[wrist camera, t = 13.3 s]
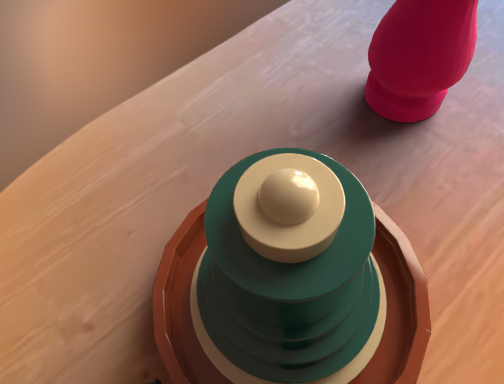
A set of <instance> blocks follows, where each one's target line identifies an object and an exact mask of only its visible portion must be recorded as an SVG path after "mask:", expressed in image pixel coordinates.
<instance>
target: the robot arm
mask: <svg viewBox="0 0 504 384" xmlns="http://www.w3.org/2000/svg"><path fill="white" fill-rule="evenodd" d="M140 384H162V383H161V381H160V380H159V379H158V378H154V379H151V380H148V381H145V382H142V383H140Z"/></svg>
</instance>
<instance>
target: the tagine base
mask: <svg viewBox="0 0 504 384" xmlns="http://www.w3.org/2000/svg"><path fill="white" fill-rule="evenodd" d="M208 199H209V198H208ZM208 199H206V200H205V201H204V202H202V203H201V204H200V205H198V206H197V207H196V208H194V209H193V210H192V211H190V213H189V214H188V215H187V217H186V218H185V220H184V221H183V222H182V224H181V225H180V227H179V228H178V229H177V231H176V232H175V234H174V235H173V236H172V238H171V239H170V241H169V242H168V243H167V245H166V246H165V249H164V252H163V255H162V259H161V262H160V265H159V268H158V272H157V275H156V278H155V281H154V285H153V288H152V289H153V290H152V298H153V324H154V340H155V342H156V345H157V347H158V350H159V352H160V355H161V357H162V360H163V362H164V364H165V367H166V369H167V372H168V374H169V377H170V379H171V382H172V384H234V383H233V382H231V381H230V380H229V379H228V378H227V377H225V376H224V375H223V374H222V373H221V372H220V371H219V370H218V369H217V368H216V367H215V366H214V364H213V363H212V362H211V361H210V359H209V358H208V356H207V355H206V353H205V352H204V350H203V348H202V346H201V344H200V342H199V340H198V338H197V335H196V332H195V329H194V326H193V321H192V316H191V307H190V293H191V284H192V279H193V274H194V271H195V268H196V265H197V263H198V261H199V258H200V256H201V254H202V252H203V251H204V249H205V248H206V246H207V242H206V238H205V233H204V214H205V209H206V205H207V202H208ZM371 202H372V205H373V209H374V213H375V221H376V232H375V239H374V244H373V247H372V250H371V253H372V255H373V257H374V259H375V261H376V263H377V264H378V267H379V269H380V272H381V275H382V278H383V282H384V286H385V292H386V302H387V306H386V320H385V326H384V331H383V334H382V337H381V340H380V343H379V345H378V347H377V349H376V351H375V353H374V355H373V357H372V358H371V359H370V361H369V362H368V364H367V365H366V367H365V368H364V369H363V370H362V371H361V372H360V373H359V374H358V375H357V376H356V377H355V378H354V379H353V380H351V381H350V382H349V383H347V384H416V382H417V379H418V376H419V372H420V369H421V365H422V362H423V359H424V355H425V352H426V349H427V345H428V342H429V338H430V335H431V321H430V310H429V298H428V287H427V281H426V280H427V279H426V277H425V275H424V273H423V270H422V268H421V266H420V264H419V262H418V260H417V257H416V255H415V253H414V251H413V249H412V247H411V244H410V242H409V240H408V238H407V237H406V235H405V234H404V233H403V232H402V231H401V230H400V229H399V228H398V226H397V225H396V224H395V223H394V222H393V221H392V220H391V219H390V218H389V217H388V216H387V215H386V213H385V212H384V211H383V210H382V209H381V208H380V207H379V206H378V205H377V204H375V203H374V202H373V201H371Z"/></svg>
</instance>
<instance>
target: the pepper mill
mask: <svg viewBox="0 0 504 384" xmlns="http://www.w3.org/2000/svg"><path fill="white" fill-rule="evenodd" d="M477 4H478V0H396V2H395V3H394V4H393V6H392V7H391V8H390V9H389V11H388V12H387V13H386V15H385V16H384V17H383V18H382V20H381V22H380V23H379V25H378V27H377V29H376V30H375V32H374V35H373V38H372V41H371V43H370V46H369V50H368V62H369V65H370V68H371V71H370V72H369V75H368V79H367V83H366V87H365V98H366V101H367V103H368V105H369V106H370V107H371V108H372V109H373V110H374V111H375V112H376V113H377V114H379V115H381V116H382V117H384V118H386V119H389V120H392V121H396V122H405V123H410V122H417V121H421V120H425V119H427V118H428V117H430V116H432V115H433V114H434V113H435V112H436V111H437V110H438V109H439V107H440V105H441V103H442V101H443V99H444V97H445V95H446V93H447V90H448V88H449V87H451V86H453V85H454V84H455V83H457V82H458V81H459V80H460V79H461V78H462V77H463V75H464V74H465V73H466V71H467V69H468V66H469V64H470V62H471V60H472V57H473V54H474V50H475V45H476V39H477V18H476V15H477Z"/></svg>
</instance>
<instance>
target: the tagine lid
mask: <svg viewBox="0 0 504 384" xmlns="http://www.w3.org/2000/svg"><path fill="white" fill-rule="evenodd" d="M375 232H376V221H375V213H374V209H373V205H372V202H371V200H370V197H369V195H368V193H367V191H366V190H365V188H364V186H363V185H362V183H361V182H360V181H359V179H358V178H357V177H356V176H355V175H354V174H353V173H352V172H351V171H350V170H349V169H347V168H346V167H345V166H344V165H342V164H341V163H339V162H338V161H336V160H334V159H332V158H330V157H328V156H326V155H324V154H321V153H318V152H315V151H311V150H307V149H300V148H276V149H270V150H266V151H262V152H259V153H256V154H253V155H251V156H249V157H247V158H245V159H243V160H241V161H240V162H238V163H237V164H235V165H234V166H232V167H231V168H230V169H229V170H228V171H227V172H226V173H225V174H224V175H223V176H222V177H221V178H220V179H219V181H218V182H217V184H216V185H215V187H214V188H213V190H212V192H211V194H210V196H209V199H208V202H207V205H206V209H205V214H204V233H205V238H206V242H207V246H206V248H205V249H204V251H203V252H202V254H201V256H200V258H199V261H198V263H197V265H196V268H195V271H194V274H193V279H192V284H191V293H190V307H191V316H192V321H193V326H194V329H195V332H196V335H197V338H198V340H199V342H200V344H201V346H202V348H203V350H204V352H205V353H206V355H207V356H208V358H209V359H210V361H211V362H212V363H213V364H214V366H215V367H216V368H217V369H218V370H219V371H220V372H221V373H222V374H223V375H224V376H225V377H227V378H228V379H229V380H230V381H231V382H233V383H234V384H347V383H349V382H350V381H351V380H353V379H354V378H355V377H356V376H357V375H358V374H359V373H360V372H361V371H362V370H363V369H364V368H365V367H366V365H367V364H368V362H369V361H370V359H371V358H372V357H373V355H374V353H375V351H376V349H377V347H378V345H379V343H380V340H381V337H382V334H383V331H384V326H385V320H386V306H387V302H386V292H385V286H384V282H383V278H382V275H381V272H380V269H379V267H378V264H377V263H376V261H375V259H374V257H373V255H372V253H371V250H372V247H373V244H374V239H375Z"/></svg>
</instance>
